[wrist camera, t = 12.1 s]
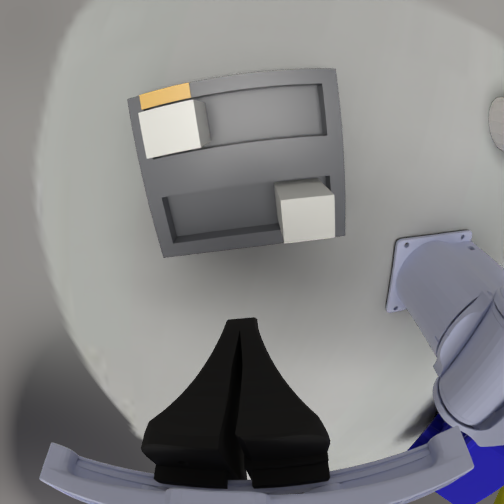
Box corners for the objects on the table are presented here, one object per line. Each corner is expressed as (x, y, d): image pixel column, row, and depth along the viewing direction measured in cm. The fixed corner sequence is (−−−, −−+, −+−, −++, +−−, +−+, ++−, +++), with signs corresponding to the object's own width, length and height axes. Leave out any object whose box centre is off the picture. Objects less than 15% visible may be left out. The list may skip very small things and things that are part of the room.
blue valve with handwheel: (378, 479, 36) (466, 542, 13) (446, 407, 26) (565, 486, 3) (439, 410, 49) (512, 460, 26) (490, 328, 38) (580, 385, 15)
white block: (317, 178, 18) (334, 194, 15) (319, 213, 19) (335, 237, 16) (273, 182, 18) (280, 200, 15) (277, 218, 20) (284, 243, 16)
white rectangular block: (204, 102, 16) (193, 99, 12) (210, 140, 17) (201, 147, 13) (160, 112, 16) (138, 112, 12) (166, 149, 17) (146, 158, 14)
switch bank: (325, 73, 16) (336, 68, 14) (335, 222, 21) (345, 236, 19) (140, 100, 16) (126, 99, 14) (171, 243, 22) (163, 258, 20)
